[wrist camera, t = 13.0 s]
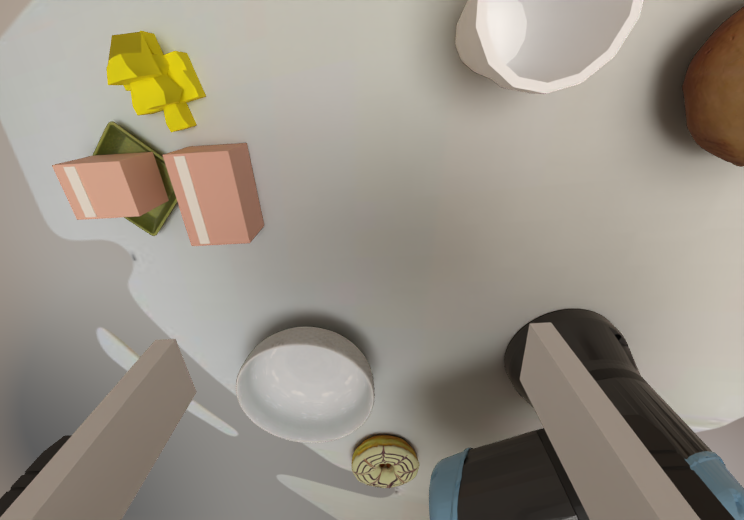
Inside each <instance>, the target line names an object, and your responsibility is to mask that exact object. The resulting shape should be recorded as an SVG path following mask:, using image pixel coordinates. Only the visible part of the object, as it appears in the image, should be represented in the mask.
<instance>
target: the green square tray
mask: <svg viewBox="0 0 744 520" xmlns="http://www.w3.org/2000/svg"><path fill="white" fill-rule="evenodd" d="M141 152H153V154H154V157H155V160H156V163H157V166H158V169H159V172H160V175H161V178H162V181H163V184H164V187H165V190H166V193H167V196H168V199H169V201H167V202H165V203H164V204H162V205H160V206H158V207H156V208H154V209H152V210H151V211H149V212H147V213H145V214H143V215H141V216H135V217H124V218H126V219H127V220H129V221H130V222H132V223H133V224H135V225H136V226H138V227H139V228H141V229H142V230H144V231H145V232H147V233H149V234H150V235H152V236H155V235H157V233H158V232H159V230H160V229H161V227H162V225H163V224H164V222H165V221H166V219H167V217H168V216H169V214H170V213H171V211H172V210H173V208H174V206H175V205H176V203H177V199H176V196H175V192H174V189H173V186H172V183H171V180H170V177H169V174H168V171H167V168H166V164H165V161H164V158H163V157H162V156H160V155H159V154H158V153H156V152H155V151H153V150H152V149H151V148H149V147H148V146H146V145H145V144H144V143H142V142H141V141H140V140H138V139H137V138H135V137H134V136H133V135H131V134H130V133H128V132H127V131H126V130H124V129H123V128H122V127H120V126H119V125H117V124H116V123H114V122H109V123H108V124H107V126H106V128H105V130H104V132H103V134H102V136H101V139H100V141H99V143H98V145H97V147H96V149H95V151H94V153H93V155H92V156H94V155H109V154H125V153H141Z"/></svg>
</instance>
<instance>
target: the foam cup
mask: <svg viewBox="0 0 744 520" xmlns="http://www.w3.org/2000/svg"><path fill="white" fill-rule="evenodd" d="M643 1H644V0H467V3H466V5H465V7H464V9H463V12H462V14H461V16H460V18H459V21H458V23H457V25H456V40H455V45H456V48H457V51H458V53H459V56H460V59H461V61H462V62H463V63H464V64H466V65H467V66H468V67H469V68H470V69H471V70H472V71H474V72H476V73H478V74H481V75H483V76H485V77H487V78H489V79H492V80H493V81H494V82H496V83H497V84H498V85H499V86H500V87H502V88H507V89H512V90H517V91H521V92H526V93H538V94H547V93H550V92H553V91H557V90H560V89H564V88H567V87H570V86H574V85H577V84H581V83H582V82H583V81H585V80H586V79H587V78H588V77H590V76H591V75H592V74H593V73H595V72H596V71H597V70H598V69H600V68H601V67H602V66H604V65H605V64H606V63H607V62H609V61H610V60H611V59H612V58H614V57H615V55H616V53H617V52H618V50H619V49H620V47H621V46H622V44H623V42H624V41H625V39H626V38H627V36H628V35H629V33H630V31H631V30H632V28H633V27H634V25H635V24H636V22H637V20H638V19H639V17H640V13H641V9H642V5H643Z"/></svg>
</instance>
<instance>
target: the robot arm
mask: <svg viewBox="0 0 744 520" xmlns="http://www.w3.org/2000/svg"><path fill="white" fill-rule="evenodd" d="M505 369H506V372H507V375H508V377H509V379H510V381H511V383H512V385H513V387H514V388H515V390H516V391H517V392H518V393H519V394H520V395H521V396H522V397H523V398H524V399H525V400H526V401H527V402H528V403H529V404H530V405H531V406H532V407H533V408H534V409H535V411H536V413H537V415H538V417H539V419H540V421H541V423H542V425H543V427H544V428H542V429H539V430H535V431H531V432H528V433H525V434H522V435H518V436H515V437H512V438H509V439H506V440H502V441H499V442H495V443H492V444H488V445H485V446H481V447H478V448H474V449H473V448H471V447H470V448H466V449H465V450H464V452H461V453H458V454H455V455H453V456H450V457H447V458H445V459H442V460H441V461H440V462H438V463H437V465H436V466H435V468H434V470H433V472H432V475H431V481H430V487H429V514H430V520H744V488H743V487H742V486H741V485H740V483H738V481H737V480H736V479H735V478H734V477H733V475H732V474H731V473H730V472H729V471H728V470H727V468H726V467H725V464H724V462H723V461H722V459H721V458H720V457H719V456H718V455H717V454H716V453H714V452H712V451H711V450H710V449H709V448H708V447H707V446H706V444H705V443H703V441H702V440H701V439H700V438H699V437H698V436H697V435H696V434H695V433H694V432H693V431H692V430H691V429H690V428H689V426H688V425H687V424H686V423H685V422H684V421H683V420H682V419H681V418H680V417H679V416H678V415H677V414H676V413H675V412H674V411H673V410H672V408H671V407H670V406H669V405H668V404H667V403H666V402H665V401H664V400H663V399H662V398H661V397H660V396H659V395H658V394H657V393H656V392H655V391H654V389H653V388H652V387H651V386H650V385H649V384H648V383H647V382H646V381H645V380H644V379H643V378H642V377H641V375H640V373H639V371H638V368H637V366H636V364H635V361H634V359H633V356H632V354H631V352H630V349H629V347H628V344H627V342H626V340H625V338H624V337H623V335H622V334H621V333H620V331H619V330H618V329H617V328H616V327H615V326H614V325H613V324H612V323H611V322H610V321H609V320H607V319H606V318H605V317H603V316H601V315H600V314H597V313H595V312H592V311H587V310H581V309H569V310H561V311H556V312H552V313H549V314H546V315H544V316H542V317H539V318H537V319H535V320H534V321H532V322H530V323H529V324H527V325H526V326H525V327H524V328H522V329H521V330H520V331H519V332H518V333H517V334H516V335H515V337H514V338H513V339H512V341H511V342H510V344H509V346H508V348H507V351H506V354H505ZM195 394H196V389H195V387H194V384H193V382H192V380H191V377H190V374H189V372H188V369H187V367H186V364H185V362H184V360H183V357H182V354H181V352H180V349H179V347H178V344H177V342H176V339H165V340H155V341H154V342H153V343H152V344H151V346H150V347H149V348H148V349H147V350H146V351H145V352H144V354H143V355H142V356H141V357H140V358H139V359H138V360H137V362H136V363H135V364H134V365H133V366H132V367H131V368H130V370H129V371H128V372H127V373H126V374H125V375H124V377H123V378H122V379H121V380H120V381H119V382H118V383H117V384H116V386H115V387H114V388H113V389H112V390H111V391H110V392H109V394H108V395H107V396H106V397H105V398H104V399H103V400H102V402H101V403H100V404H99V405H98V406H97V408H96V409H95V410H94V411H93V412H92V413H91V414H90V415H89V417H88V418H87V419H86V420H85V421H84V422H83V423H82V424H81V426H80V427H79V428H78V429H77V430H76V431H75V432H74V434H73V435H71V436H63V437H62V438H61V439H60V440H58V441H57V442H56V443H54V444H53V445H52V446H50V447H49V448H48V449H47V450H45V451H44V452H43V453H42V454H41V455H40V456H39V457H38V458H37V459H36V460H35V461H34V463H33V464H32V465H31V466H30V467H29V468H28V469H27V470H26V471H25V472H26V473H25V475H22V476H21V477H20V478H19V479H18V480H17V481H16V482H15V483H14V485H13V486H12V487H11V490H10V491H9V492H6V493H5V494H4V495H3V496H2V498H1V499H0V520H121V519H122V518H123V516H124V514H125V513H126V511H127V509H128V508H129V506H130V504H131V503H132V501H133V499H134V498H135V496H136V494H137V492H138V491H139V489H140V487H141V486H142V484H143V482H144V481H145V479H146V477H147V475H148V474H149V472H150V470H151V469H152V467H153V465H154V464H155V462H156V460H157V458H158V457H159V455H160V453H161V452H162V450H163V448H164V447H165V445H166V443H167V441H168V440H169V438H170V436H171V435H172V433H173V431H174V430H175V428H176V426H177V424H178V422H179V421H180V419H181V417H182V416H183V414H184V413H185V411H186V409H187V407H188V406H189V404H190V402H191V401H192V399H193V397H194V395H195Z"/></svg>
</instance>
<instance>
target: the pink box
mask: <svg viewBox="0 0 744 520" xmlns="http://www.w3.org/2000/svg"><path fill="white" fill-rule="evenodd" d="M52 167H53V169H54V171H55V173H56V175H57V177H58V179H59V182H60V184H61V186H62V188H63V190H64V192H65V194H66V197H67V199H68V201H69V203H70V205H71V207H72V209H73V212H74V214H75V216H76V218H77V220H81V219H99V218H117V217H135V216H141V215H143V214H145V213H147V212H149V211H151V210H152V209H154V208H156V207H158V206H160V205H162V204H164V203H165V202H167V201H169V199H168V196H167V193H166V190H165V187H164V184H163V181H162V178H161V175H160V172H159V169H158V166H157V163H156V160H155V157H154V154H153V152H141V153H125V154H109V155H94V156H89V157H85V158H81V159H77V160H72V161H68V162H64V163H60V164H55V165H52Z"/></svg>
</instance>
